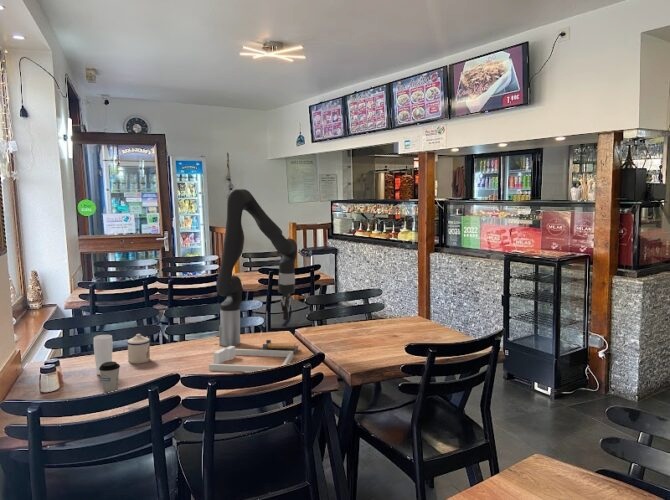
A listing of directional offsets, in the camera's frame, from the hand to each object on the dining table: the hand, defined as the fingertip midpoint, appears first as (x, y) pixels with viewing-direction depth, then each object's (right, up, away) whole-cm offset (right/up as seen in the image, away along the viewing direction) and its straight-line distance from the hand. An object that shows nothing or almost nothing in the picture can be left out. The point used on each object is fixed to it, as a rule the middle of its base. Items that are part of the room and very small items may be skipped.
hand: (286, 319), depth 223 cm
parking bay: (-12, -17, -16) cm, 26 cm away
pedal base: (-3, -15, +1) cm, 15 cm away
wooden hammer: (-3, -13, +1) cm, 13 cm away
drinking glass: (-70, -17, -30) cm, 78 cm away
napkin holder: (-25, -17, -12) cm, 32 cm away
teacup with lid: (-63, -16, -13) cm, 66 cm away
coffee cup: (-59, -19, -47) cm, 78 cm away
